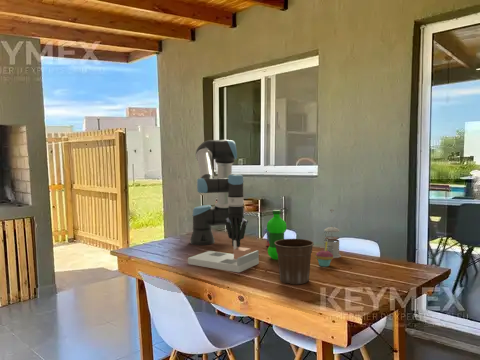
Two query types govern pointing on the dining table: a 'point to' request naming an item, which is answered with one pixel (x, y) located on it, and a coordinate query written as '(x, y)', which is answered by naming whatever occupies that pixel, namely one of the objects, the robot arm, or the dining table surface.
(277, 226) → the plastic bottle
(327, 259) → the cupcake
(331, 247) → the french press
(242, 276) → the dining table surface
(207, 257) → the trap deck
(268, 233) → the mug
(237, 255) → the block
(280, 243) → the plant pot
